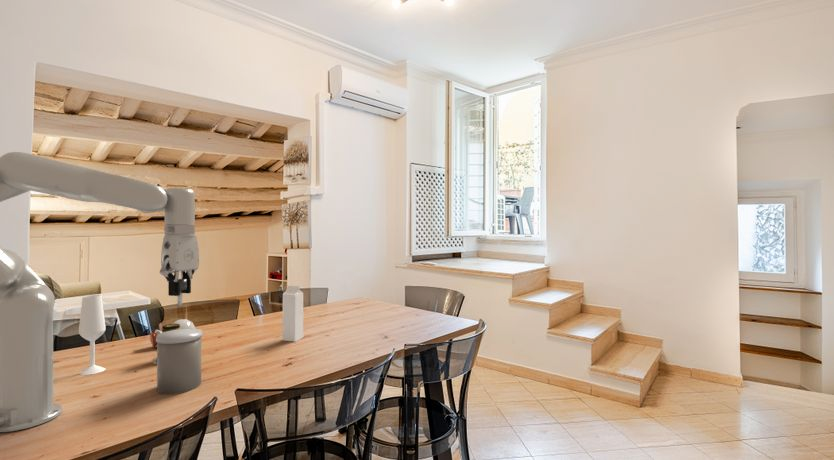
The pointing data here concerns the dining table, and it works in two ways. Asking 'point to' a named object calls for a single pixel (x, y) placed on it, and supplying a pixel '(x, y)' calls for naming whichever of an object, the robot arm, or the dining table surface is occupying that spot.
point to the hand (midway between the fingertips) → (179, 293)
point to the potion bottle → (182, 322)
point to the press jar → (178, 360)
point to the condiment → (168, 328)
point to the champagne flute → (92, 327)
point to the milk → (292, 314)
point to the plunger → (182, 287)
